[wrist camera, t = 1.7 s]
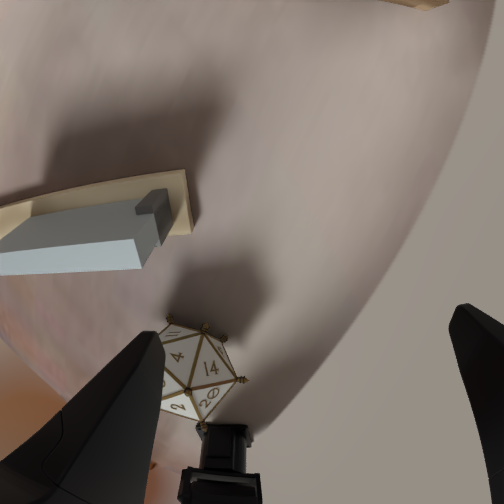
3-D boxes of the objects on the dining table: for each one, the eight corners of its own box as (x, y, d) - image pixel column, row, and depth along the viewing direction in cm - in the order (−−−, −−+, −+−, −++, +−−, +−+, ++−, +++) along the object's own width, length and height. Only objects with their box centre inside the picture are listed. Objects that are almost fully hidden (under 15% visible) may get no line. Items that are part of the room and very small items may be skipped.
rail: (194, 227, 20) (181, 257, 16) (-28, 252, 21) (-50, 272, 17) (184, 169, 18) (167, 187, 14) (-40, 218, 19) (-64, 236, 16)
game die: (197, 292, 27) (209, 297, 17) (247, 365, 27) (283, 402, 18) (118, 343, 25) (90, 374, 15) (172, 414, 25) (174, 470, 15)
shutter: (173, 224, 19) (144, 276, 13) (37, 239, 19) (-8, 281, 14) (166, 187, 17) (131, 229, 12) (27, 211, 18) (-22, 249, 13)
